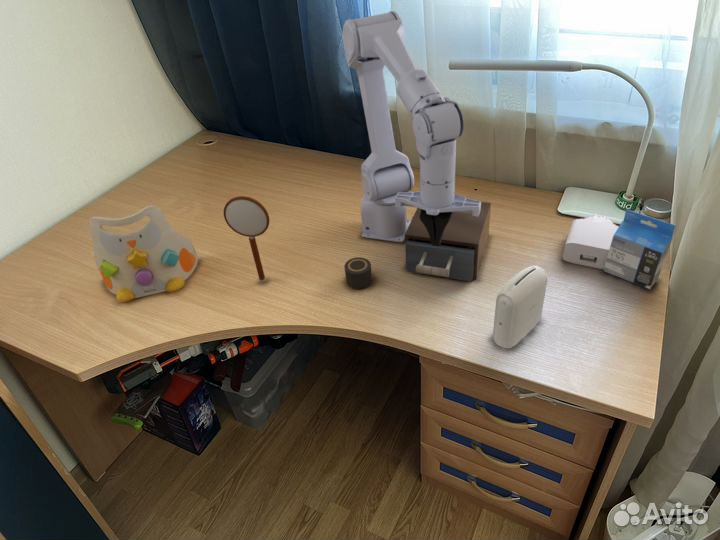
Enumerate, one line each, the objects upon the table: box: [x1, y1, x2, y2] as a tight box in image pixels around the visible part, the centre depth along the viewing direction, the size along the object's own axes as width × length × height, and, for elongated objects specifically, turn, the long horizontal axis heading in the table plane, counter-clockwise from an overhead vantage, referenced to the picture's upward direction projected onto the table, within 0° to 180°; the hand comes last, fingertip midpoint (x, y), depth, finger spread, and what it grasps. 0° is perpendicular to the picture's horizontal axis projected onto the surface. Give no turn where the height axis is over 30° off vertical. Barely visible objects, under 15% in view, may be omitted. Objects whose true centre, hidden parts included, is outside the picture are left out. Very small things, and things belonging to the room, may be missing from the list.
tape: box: [343, 256, 373, 291], centre depth 105 cm, size 5×5×4 cm
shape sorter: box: [88, 204, 199, 303], centre depth 106 cm, size 20×10×18 cm, turn 105°
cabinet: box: [404, 201, 492, 281], centre depth 109 cm, size 15×14×9 cm
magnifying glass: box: [223, 195, 270, 283], centre depth 103 cm, size 9×2×20 cm, turn 80°
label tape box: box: [603, 209, 676, 290], centre depth 97 cm, size 9×4×12 cm, turn 46°
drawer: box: [404, 239, 475, 282], centre depth 105 cm, size 19×13×7 cm
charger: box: [562, 213, 620, 270], centre depth 108 cm, size 5×9×15 cm
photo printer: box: [492, 264, 549, 349], centre depth 89 cm, size 10×4×12 cm, turn 133°
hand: (436, 242), depth 97 cm, fingers closed
